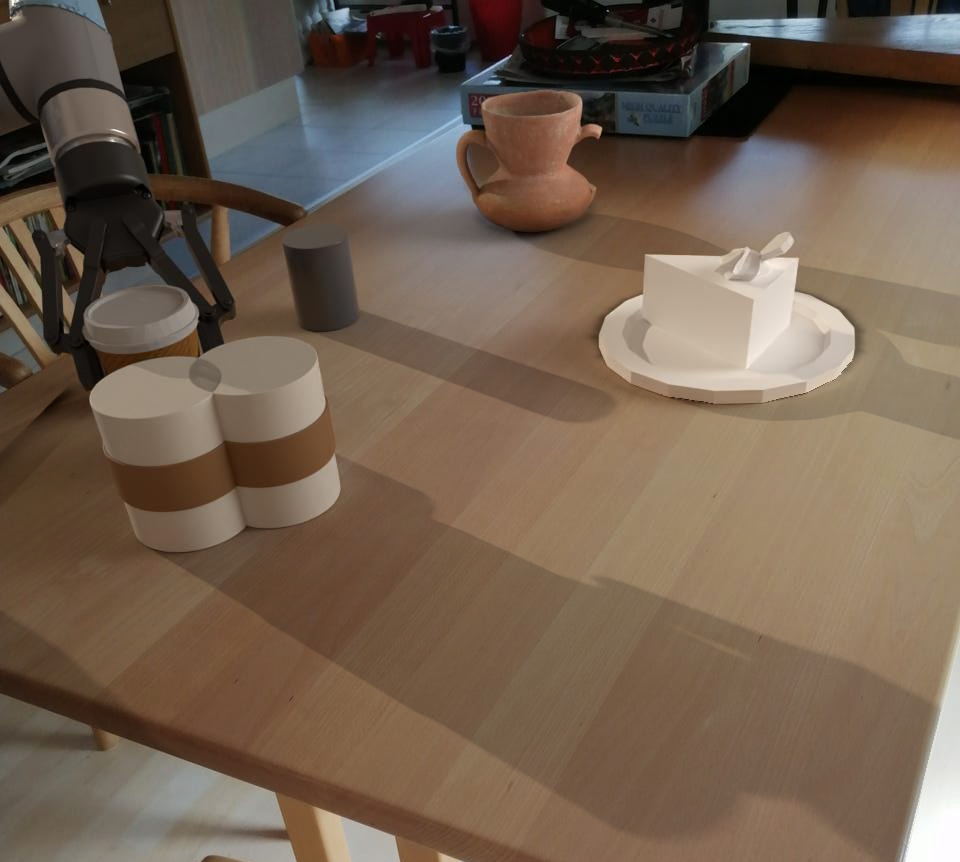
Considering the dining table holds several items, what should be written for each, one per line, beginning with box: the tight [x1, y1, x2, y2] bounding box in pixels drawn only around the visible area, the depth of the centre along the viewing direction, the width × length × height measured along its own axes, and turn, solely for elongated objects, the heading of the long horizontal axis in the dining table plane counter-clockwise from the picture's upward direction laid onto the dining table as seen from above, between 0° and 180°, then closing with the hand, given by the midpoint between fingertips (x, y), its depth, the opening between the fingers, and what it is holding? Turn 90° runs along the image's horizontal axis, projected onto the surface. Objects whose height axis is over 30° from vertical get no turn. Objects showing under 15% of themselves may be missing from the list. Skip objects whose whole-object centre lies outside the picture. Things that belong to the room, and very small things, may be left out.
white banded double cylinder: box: [89, 335, 342, 553], centre depth 83 cm, size 17×14×12 cm
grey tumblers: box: [101, 224, 361, 377], centre depth 106 cm, size 7×30×9 cm, turn 134°
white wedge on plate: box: [598, 231, 856, 405], centre depth 100 cm, size 25×25×11 cm
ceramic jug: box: [455, 89, 603, 233], centre depth 129 cm, size 18×14×14 cm
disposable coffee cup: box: [82, 284, 201, 376], centre depth 89 cm, size 10×10×12 cm
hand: (166, 411), depth 88 cm, fingers closed on disposable coffee cup, 9 cm apart
